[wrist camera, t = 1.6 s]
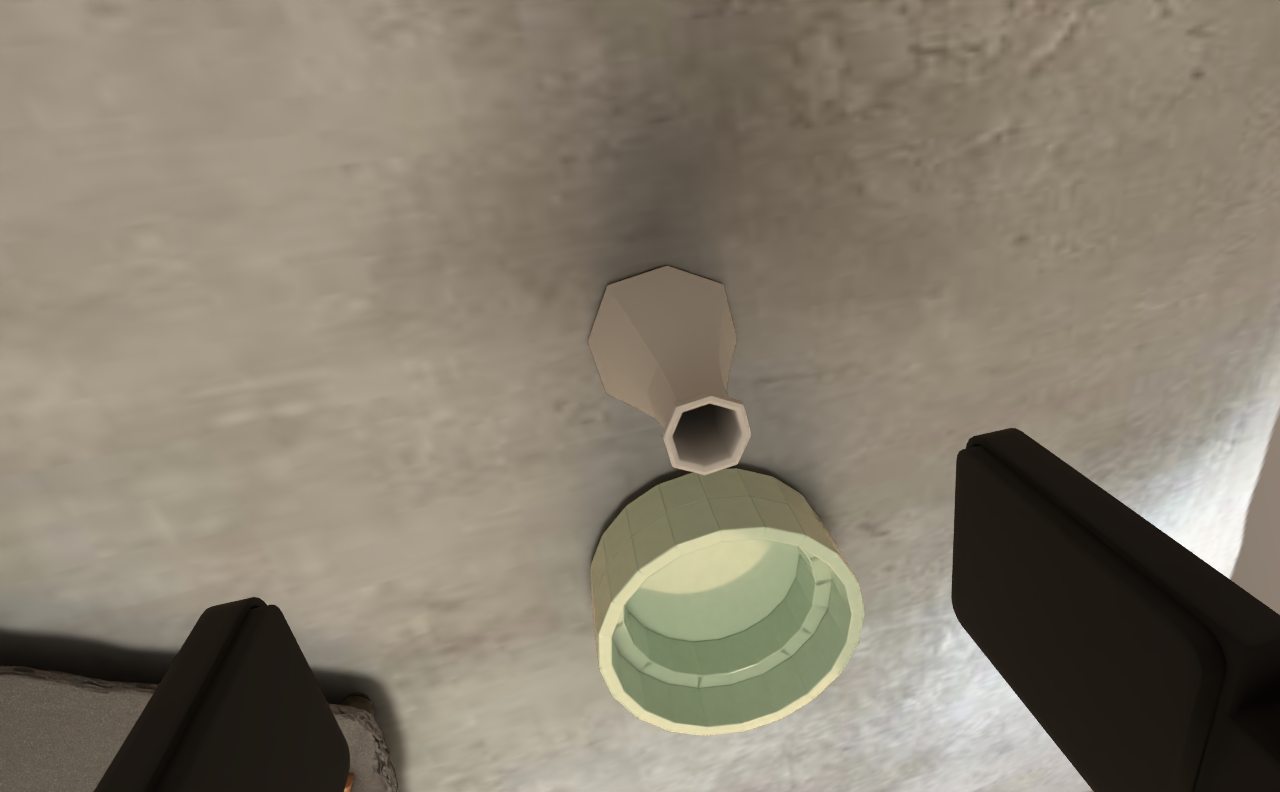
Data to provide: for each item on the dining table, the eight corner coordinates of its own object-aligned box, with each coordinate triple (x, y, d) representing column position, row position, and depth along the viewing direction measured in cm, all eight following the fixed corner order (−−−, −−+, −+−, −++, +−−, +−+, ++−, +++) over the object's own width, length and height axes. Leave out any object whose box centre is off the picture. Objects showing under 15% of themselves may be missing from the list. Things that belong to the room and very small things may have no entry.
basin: (794, 427, 37) (838, 489, 32) (838, 608, 43) (881, 686, 38) (555, 509, 37) (558, 585, 32) (631, 677, 43) (645, 765, 38)
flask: (742, 263, 33) (819, 339, 24) (729, 403, 36) (793, 516, 27) (587, 264, 32) (607, 343, 23) (587, 407, 35) (605, 526, 26)
